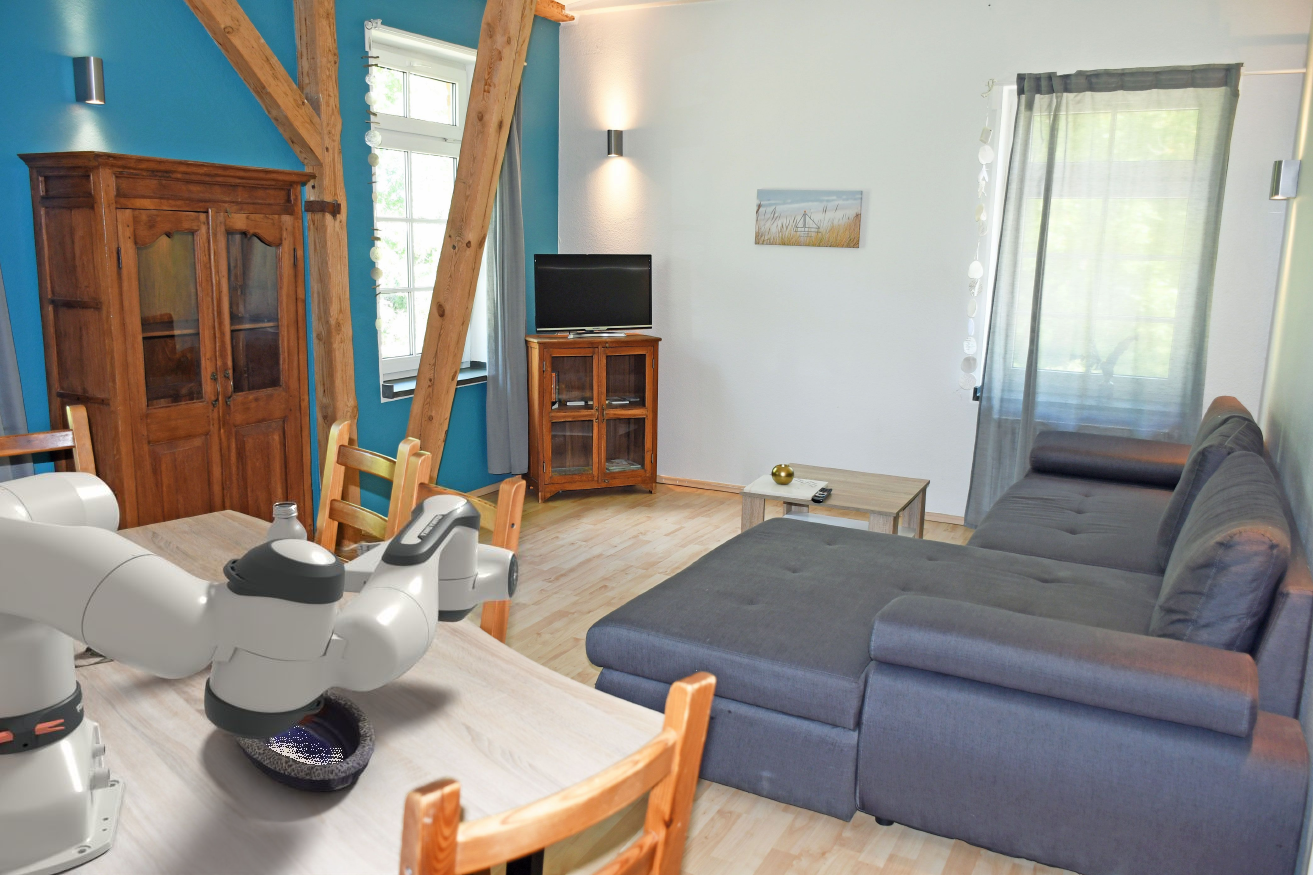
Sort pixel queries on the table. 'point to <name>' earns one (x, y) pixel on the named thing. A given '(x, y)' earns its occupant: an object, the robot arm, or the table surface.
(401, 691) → the table surface
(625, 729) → the table surface
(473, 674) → the table surface
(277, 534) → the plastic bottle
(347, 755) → the dish
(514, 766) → the table surface
